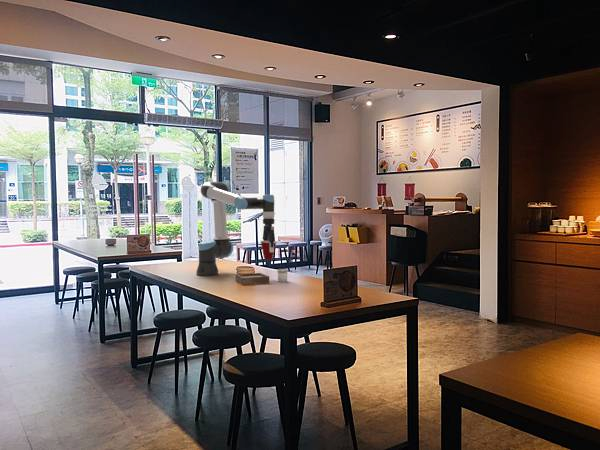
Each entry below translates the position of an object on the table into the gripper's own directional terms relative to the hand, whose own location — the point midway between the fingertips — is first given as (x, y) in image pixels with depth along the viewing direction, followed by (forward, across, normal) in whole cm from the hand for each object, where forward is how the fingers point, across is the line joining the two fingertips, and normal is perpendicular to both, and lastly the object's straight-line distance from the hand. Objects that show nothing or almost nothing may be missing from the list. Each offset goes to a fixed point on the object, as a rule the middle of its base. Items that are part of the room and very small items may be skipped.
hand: (268, 251), depth 338 cm
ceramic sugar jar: (+18, -15, -4) cm, 24 cm away
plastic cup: (+5, 0, 0) cm, 5 cm away
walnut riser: (+18, -11, +15) cm, 26 cm away
